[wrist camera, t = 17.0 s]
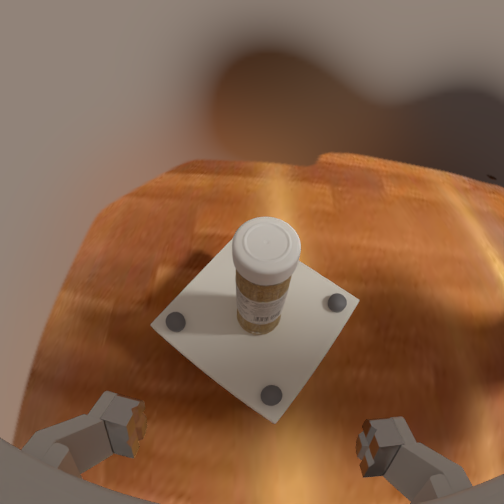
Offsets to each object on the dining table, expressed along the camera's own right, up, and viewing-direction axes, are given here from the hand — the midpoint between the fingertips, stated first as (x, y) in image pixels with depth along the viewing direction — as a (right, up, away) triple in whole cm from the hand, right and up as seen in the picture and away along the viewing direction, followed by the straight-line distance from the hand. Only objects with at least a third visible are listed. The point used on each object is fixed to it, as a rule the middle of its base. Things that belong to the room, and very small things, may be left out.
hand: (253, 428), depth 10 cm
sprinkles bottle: (+1, 0, +22) cm, 22 cm away
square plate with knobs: (0, -4, +27) cm, 28 cm away
